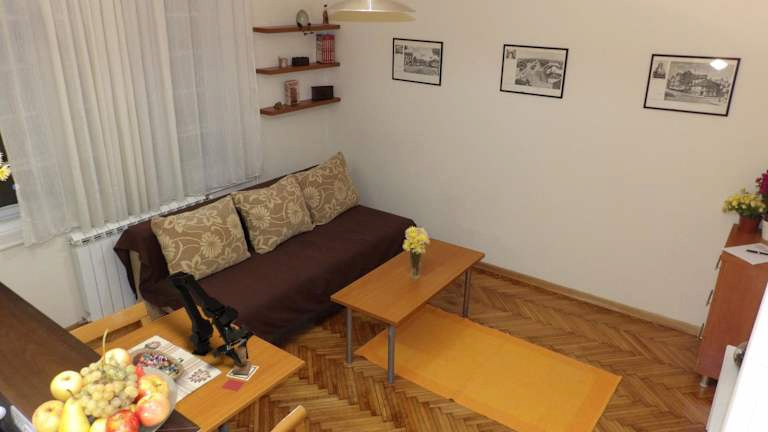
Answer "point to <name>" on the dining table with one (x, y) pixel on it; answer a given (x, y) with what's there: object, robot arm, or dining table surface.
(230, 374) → the marked board
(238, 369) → the stamp
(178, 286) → the robot arm
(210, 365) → the dining table surface
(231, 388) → the ink pad
